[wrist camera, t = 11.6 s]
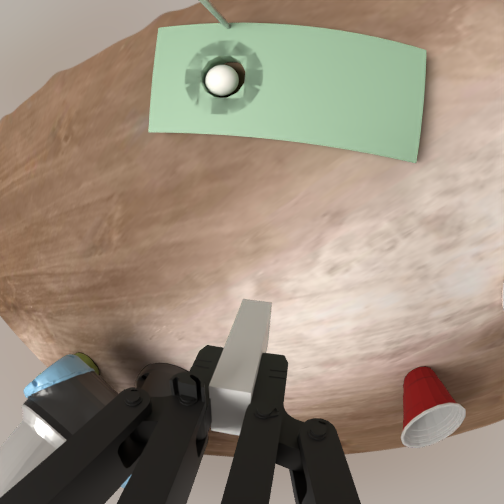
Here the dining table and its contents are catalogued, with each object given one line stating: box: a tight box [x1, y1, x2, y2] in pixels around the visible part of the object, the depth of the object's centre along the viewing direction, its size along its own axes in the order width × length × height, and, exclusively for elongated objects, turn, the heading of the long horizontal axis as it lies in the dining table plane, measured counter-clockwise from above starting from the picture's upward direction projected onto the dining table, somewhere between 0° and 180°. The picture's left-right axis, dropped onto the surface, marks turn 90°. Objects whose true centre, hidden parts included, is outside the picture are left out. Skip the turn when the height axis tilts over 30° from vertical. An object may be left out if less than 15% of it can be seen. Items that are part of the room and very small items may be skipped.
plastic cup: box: [401, 367, 465, 448], centre depth 41 cm, size 11×11×12 cm
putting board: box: [149, 23, 426, 163], centre depth 33 cm, size 32×14×4 cm, turn 85°
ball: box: [205, 65, 239, 96], centre depth 34 cm, size 4×4×4 cm
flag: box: [199, 0, 231, 29], centre depth 23 cm, size 5×1×16 cm, turn 85°
